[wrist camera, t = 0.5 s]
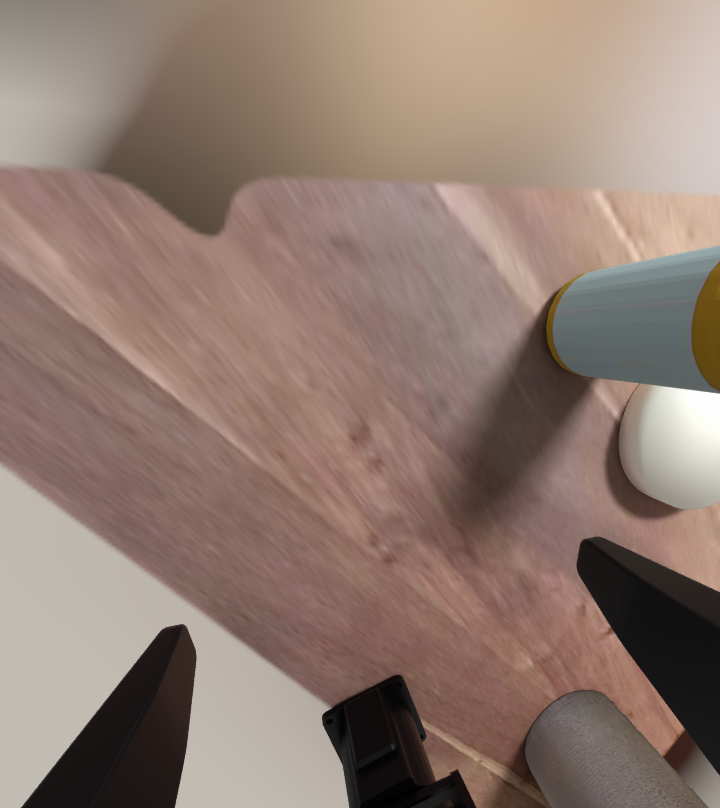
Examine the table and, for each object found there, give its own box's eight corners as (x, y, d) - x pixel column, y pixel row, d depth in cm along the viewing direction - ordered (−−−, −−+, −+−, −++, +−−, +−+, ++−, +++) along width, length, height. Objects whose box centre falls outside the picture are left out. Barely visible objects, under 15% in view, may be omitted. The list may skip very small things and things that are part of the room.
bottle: (633, 279, 27) (1055, 214, 12) (613, 377, 28) (979, 423, 13) (549, 266, 25) (920, 173, 11) (532, 370, 26) (847, 414, 12)
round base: (744, 464, 32) (774, 473, 30) (631, 521, 31) (655, 534, 29) (733, 331, 29) (765, 330, 27) (606, 385, 28) (631, 389, 26)
